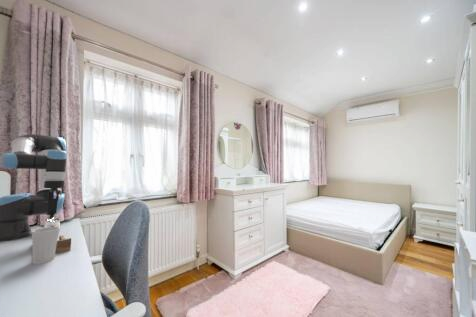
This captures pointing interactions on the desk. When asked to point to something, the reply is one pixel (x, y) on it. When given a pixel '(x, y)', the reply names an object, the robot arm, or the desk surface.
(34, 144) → the robot arm
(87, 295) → the desk surface
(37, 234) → the cup
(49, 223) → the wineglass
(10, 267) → the desk surface
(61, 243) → the cradle
